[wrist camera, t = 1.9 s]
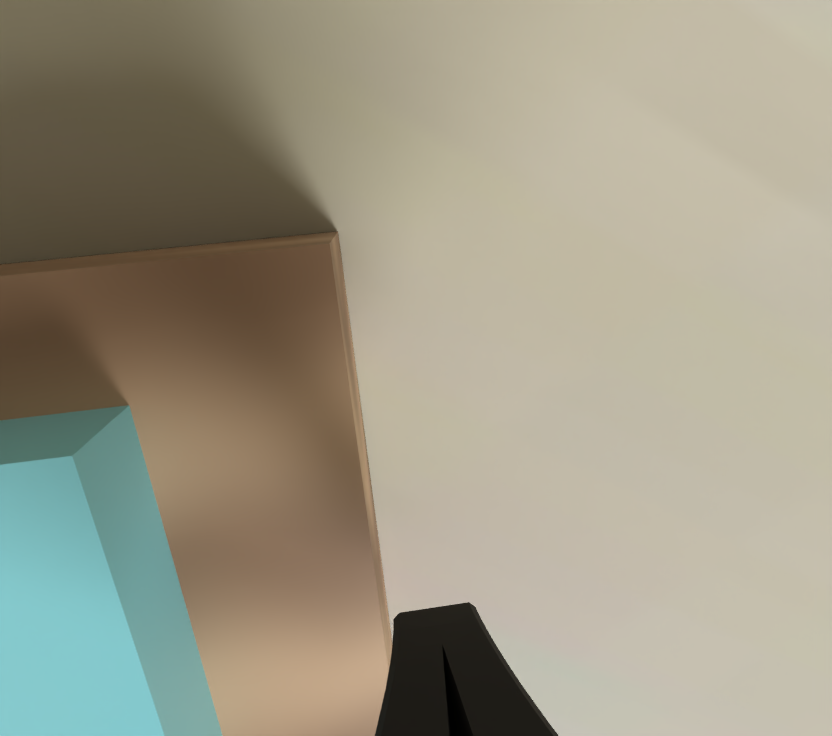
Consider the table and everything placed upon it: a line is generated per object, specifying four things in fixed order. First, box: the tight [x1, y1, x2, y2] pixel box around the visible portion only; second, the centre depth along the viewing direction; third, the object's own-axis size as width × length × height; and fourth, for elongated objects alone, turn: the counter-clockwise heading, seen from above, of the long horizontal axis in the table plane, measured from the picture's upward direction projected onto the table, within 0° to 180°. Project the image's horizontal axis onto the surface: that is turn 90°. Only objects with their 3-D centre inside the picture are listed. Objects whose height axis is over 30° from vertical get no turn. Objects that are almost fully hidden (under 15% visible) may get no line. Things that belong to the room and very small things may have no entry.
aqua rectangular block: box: [0, 405, 223, 736], centre depth 10 cm, size 9×6×2 cm, turn 5°
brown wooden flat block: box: [0, 232, 392, 736], centre depth 12 cm, size 14×16×4 cm
